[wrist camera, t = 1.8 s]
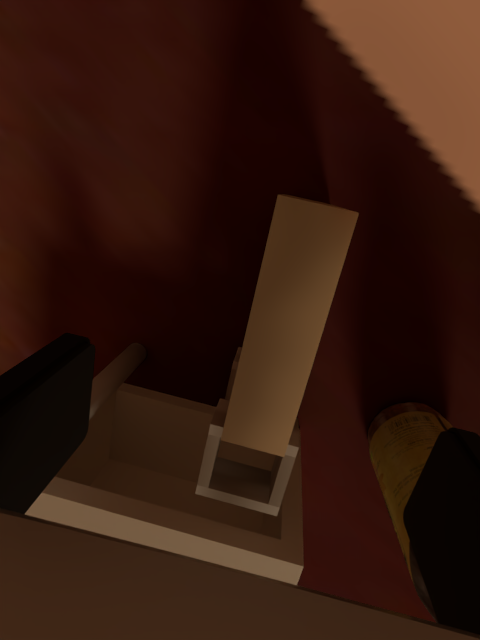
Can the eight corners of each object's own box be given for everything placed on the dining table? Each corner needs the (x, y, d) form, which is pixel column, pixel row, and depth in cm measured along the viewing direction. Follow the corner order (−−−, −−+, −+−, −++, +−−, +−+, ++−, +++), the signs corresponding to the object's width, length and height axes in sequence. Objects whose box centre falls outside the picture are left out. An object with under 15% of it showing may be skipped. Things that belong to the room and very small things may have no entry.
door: (340, 206, 25) (378, 217, 14) (282, 405, 30) (275, 532, 19) (274, 191, 25) (259, 190, 14) (228, 391, 30) (190, 508, 19)
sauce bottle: (350, 447, 31) (439, 849, 12) (389, 384, 28) (573, 750, 10) (426, 480, 31) (635, 932, 12) (471, 419, 28) (811, 851, 10)
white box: (313, 387, 29) (328, 546, 16) (276, 505, 33) (264, 709, 20) (114, 337, 30) (-26, 447, 17) (100, 457, 34) (-21, 622, 21)
